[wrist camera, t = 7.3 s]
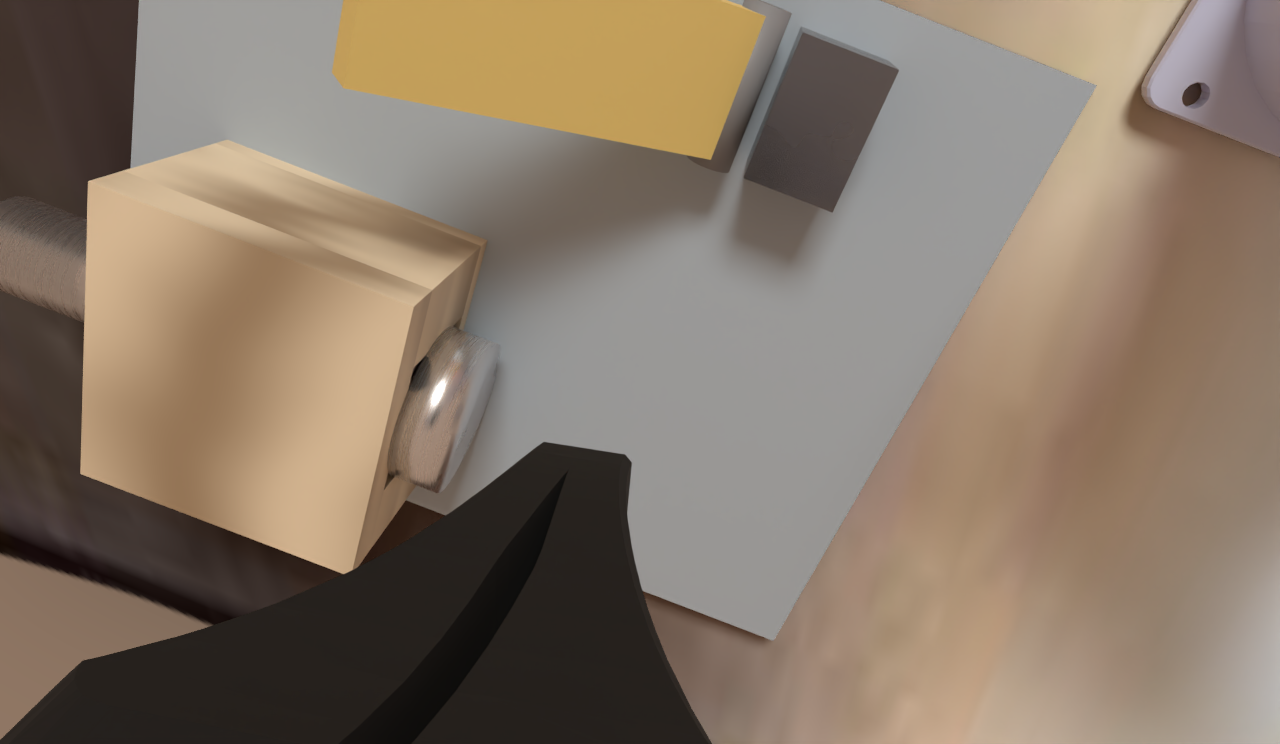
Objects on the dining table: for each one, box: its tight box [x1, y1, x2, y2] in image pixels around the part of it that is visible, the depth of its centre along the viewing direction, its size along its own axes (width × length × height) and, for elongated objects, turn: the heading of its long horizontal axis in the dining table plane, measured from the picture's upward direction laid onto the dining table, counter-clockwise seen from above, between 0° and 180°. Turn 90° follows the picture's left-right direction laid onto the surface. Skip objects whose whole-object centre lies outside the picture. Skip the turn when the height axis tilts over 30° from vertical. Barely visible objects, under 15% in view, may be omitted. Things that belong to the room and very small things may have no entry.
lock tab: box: [332, 0, 792, 173], centre depth 15 cm, size 8×3×1 cm
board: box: [131, 0, 1097, 641], centre depth 22 cm, size 21×17×1 cm
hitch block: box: [81, 140, 488, 574], centre depth 21 cm, size 7×8×5 cm
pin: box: [0, 196, 500, 493], centre depth 21 cm, size 12×4×4 cm, turn 71°
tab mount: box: [743, 26, 899, 213], centre depth 18 cm, size 2×3×2 cm, turn 161°
